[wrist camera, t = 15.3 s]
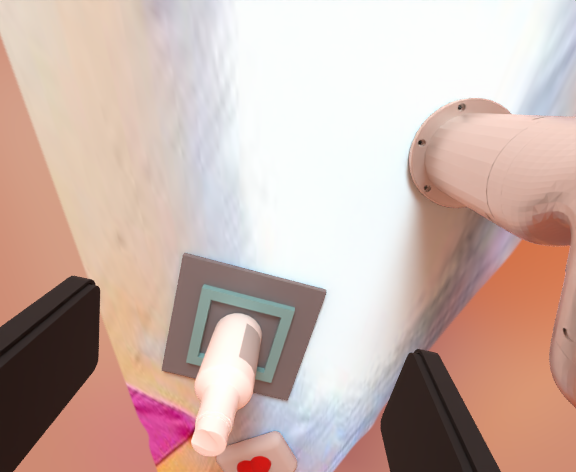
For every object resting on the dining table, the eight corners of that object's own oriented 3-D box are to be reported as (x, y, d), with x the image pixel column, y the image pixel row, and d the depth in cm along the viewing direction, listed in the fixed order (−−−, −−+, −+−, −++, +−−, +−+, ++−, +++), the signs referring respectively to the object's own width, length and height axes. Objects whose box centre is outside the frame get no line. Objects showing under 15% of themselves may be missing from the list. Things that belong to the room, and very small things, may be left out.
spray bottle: (239, 359, 52) (211, 479, 36) (205, 331, 51) (159, 442, 34) (272, 333, 51) (258, 446, 34) (237, 303, 49) (205, 405, 32)
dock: (325, 289, 49) (326, 296, 47) (287, 396, 56) (287, 405, 54) (184, 252, 48) (180, 258, 46) (163, 366, 54) (159, 375, 53)
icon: (237, 508, 59) (209, 470, 56) (241, 482, 64) (215, 445, 60) (303, 490, 57) (278, 449, 54) (303, 464, 61) (279, 425, 58)
